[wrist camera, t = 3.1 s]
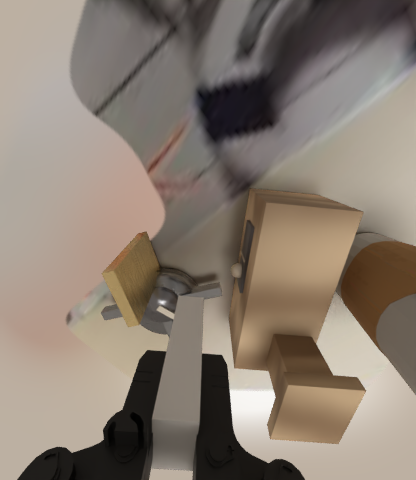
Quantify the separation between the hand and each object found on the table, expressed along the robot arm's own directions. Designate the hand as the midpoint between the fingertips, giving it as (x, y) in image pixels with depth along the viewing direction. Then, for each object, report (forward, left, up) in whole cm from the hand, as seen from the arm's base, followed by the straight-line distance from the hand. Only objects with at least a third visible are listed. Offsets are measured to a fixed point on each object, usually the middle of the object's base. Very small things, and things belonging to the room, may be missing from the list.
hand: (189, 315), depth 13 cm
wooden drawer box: (0, +7, -8) cm, 11 cm away
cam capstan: (+4, -3, -8) cm, 10 cm away
